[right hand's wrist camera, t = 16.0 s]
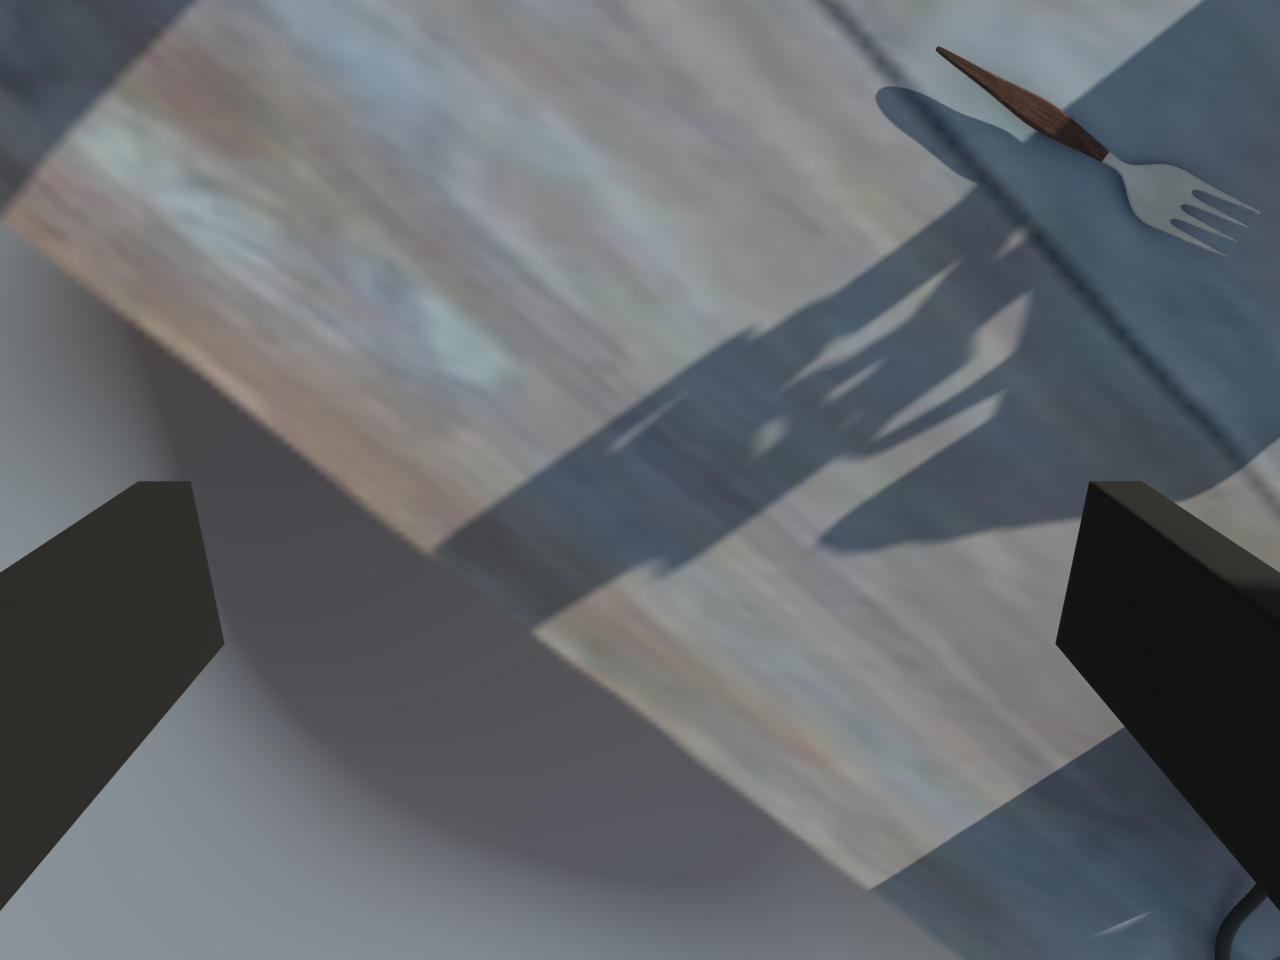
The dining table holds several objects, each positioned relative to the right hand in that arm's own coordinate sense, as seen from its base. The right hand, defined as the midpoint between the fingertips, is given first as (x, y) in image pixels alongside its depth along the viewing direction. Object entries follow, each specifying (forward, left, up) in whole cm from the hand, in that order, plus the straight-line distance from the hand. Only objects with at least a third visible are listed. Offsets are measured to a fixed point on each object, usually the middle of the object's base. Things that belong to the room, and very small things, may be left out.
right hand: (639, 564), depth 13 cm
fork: (+11, -17, -29) cm, 36 cm away
